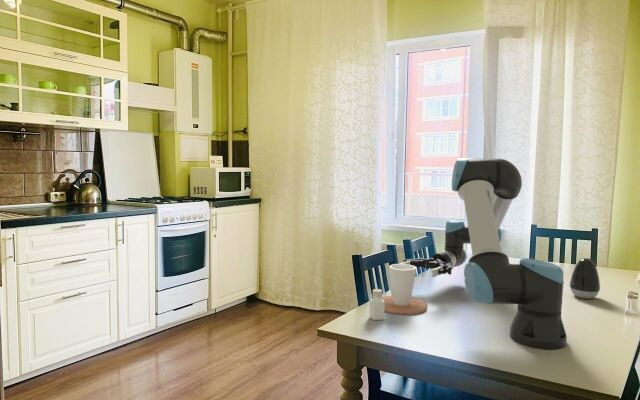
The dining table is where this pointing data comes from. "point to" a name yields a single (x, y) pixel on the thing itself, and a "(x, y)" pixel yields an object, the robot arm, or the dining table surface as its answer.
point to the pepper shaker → (377, 305)
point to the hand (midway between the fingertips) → (416, 270)
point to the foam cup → (402, 283)
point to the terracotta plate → (405, 306)
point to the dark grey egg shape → (585, 279)
